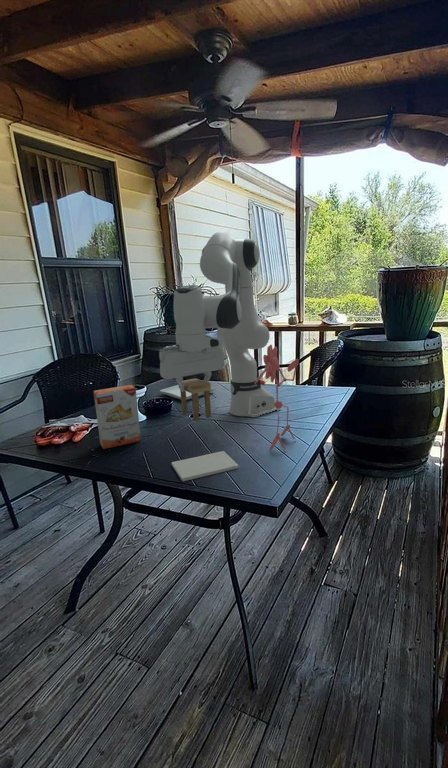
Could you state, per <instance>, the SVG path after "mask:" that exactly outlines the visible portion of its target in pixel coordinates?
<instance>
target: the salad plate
mask: <svg viewBox="0 0 448 768" xmlns="http://www.w3.org/2000/svg"><path fill="white" fill-rule="evenodd" d="M215 389H216V387H215V386H211V390H209V391H210V393H212V392H213V391H215ZM159 392H160V393H161V394H163V395H165V396H169V397H172V398H174V399H178V400H181V392H180V388H179V384H176V385H173V386H169V387H166V388H162V389H159ZM201 396H204V392H200V393H198V398H199V397H201ZM189 400H192V393H189V392H187V391H186V401H189Z"/></svg>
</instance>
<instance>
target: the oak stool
mask: <svg viewBox="0 0 448 768" xmlns="http://www.w3.org/2000/svg"><path fill="white" fill-rule="evenodd" d="M202 380H203V379H202ZM202 380H201V379H198V378H196V377H195V378H190V379H186V380H184V379H183V380H181V381H182V383H183V384H185V385H187V392H189V393H192V399H191V404H192V406H191V407H192V417H193V418H192V419H193V421H194V422H198V421H200V417H199V416H200V415H199V414H200V413H199V412H200V404H199V397H198V393H200V392H204V395H203V396H204V399H203V400H204V412H205V418H206V419H210V418H212V410H211V409H212V408H211V395H210V394H211V392H210V391H209V390H211V387H212V385H211V382H209V383H207V382H205V381H202ZM178 385H179V384H178ZM179 388H180V385H179ZM180 392H181V399H180V403H181V404H180V405H181V414H182V416H187V415H188V404H187V402H188V400H186V391H183V392H182V391H180Z"/></svg>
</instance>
